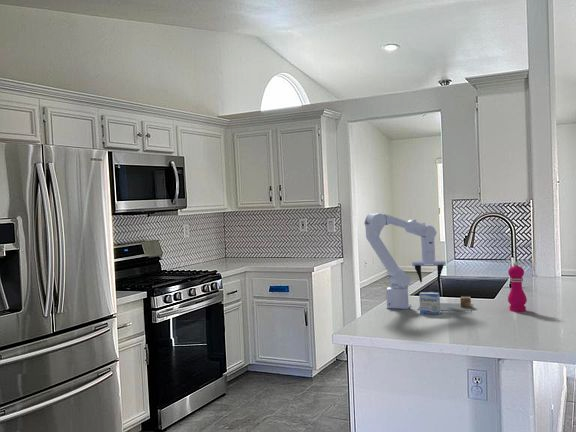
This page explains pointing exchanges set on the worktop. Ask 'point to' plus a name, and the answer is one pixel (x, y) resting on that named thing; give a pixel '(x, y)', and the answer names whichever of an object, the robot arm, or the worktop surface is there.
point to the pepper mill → (516, 289)
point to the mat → (452, 307)
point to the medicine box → (429, 303)
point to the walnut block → (465, 302)
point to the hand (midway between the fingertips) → (429, 281)
